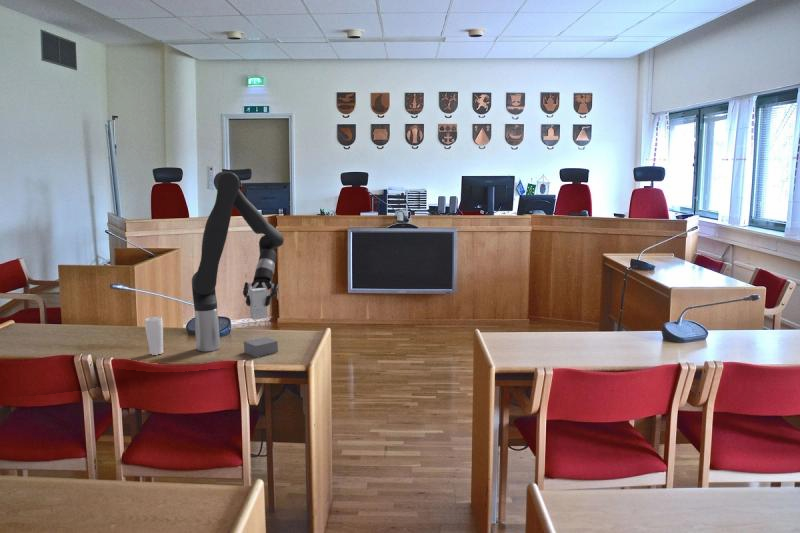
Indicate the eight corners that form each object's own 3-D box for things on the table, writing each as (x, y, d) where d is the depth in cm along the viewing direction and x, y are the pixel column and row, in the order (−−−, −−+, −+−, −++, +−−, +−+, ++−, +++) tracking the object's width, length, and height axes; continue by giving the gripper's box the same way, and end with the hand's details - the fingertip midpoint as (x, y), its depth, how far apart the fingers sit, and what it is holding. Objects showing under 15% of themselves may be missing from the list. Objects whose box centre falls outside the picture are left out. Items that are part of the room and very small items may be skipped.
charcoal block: (244, 353, 269) (243, 341, 268) (266, 348, 275) (265, 336, 274) (255, 358, 261) (255, 346, 260) (278, 353, 267) (277, 341, 267)
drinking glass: (148, 357, 265) (145, 321, 263) (146, 353, 271) (143, 318, 269) (166, 354, 268) (163, 319, 266) (164, 350, 274) (161, 316, 272)
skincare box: (253, 320, 262) (252, 290, 260) (249, 318, 266) (248, 288, 264) (268, 318, 266) (266, 288, 264) (264, 315, 269) (262, 287, 267)
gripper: (245, 266, 271) (237, 300, 261) (279, 266, 269) (272, 300, 260) (250, 277, 277) (242, 310, 267) (283, 277, 275) (276, 310, 266)
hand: (257, 305), depth 263 cm, fingers closed on skincare box, 7 cm apart
